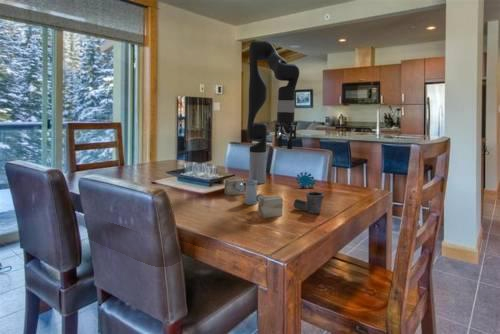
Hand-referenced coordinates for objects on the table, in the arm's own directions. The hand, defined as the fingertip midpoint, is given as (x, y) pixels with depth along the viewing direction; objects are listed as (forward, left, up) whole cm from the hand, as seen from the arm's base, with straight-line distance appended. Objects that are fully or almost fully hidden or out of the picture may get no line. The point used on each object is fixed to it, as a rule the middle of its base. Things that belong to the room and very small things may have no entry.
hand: (284, 148), depth 157 cm
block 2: (+19, -17, -24) cm, 34 cm away
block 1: (-19, -17, -24) cm, 35 cm away
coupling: (0, -16, -24) cm, 29 cm away
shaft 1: (-13, -17, -21) cm, 30 cm away
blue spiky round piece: (-18, +24, -24) cm, 39 cm away
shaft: (+13, -17, -21) cm, 30 cm away
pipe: (+21, 0, -24) cm, 32 cm away
